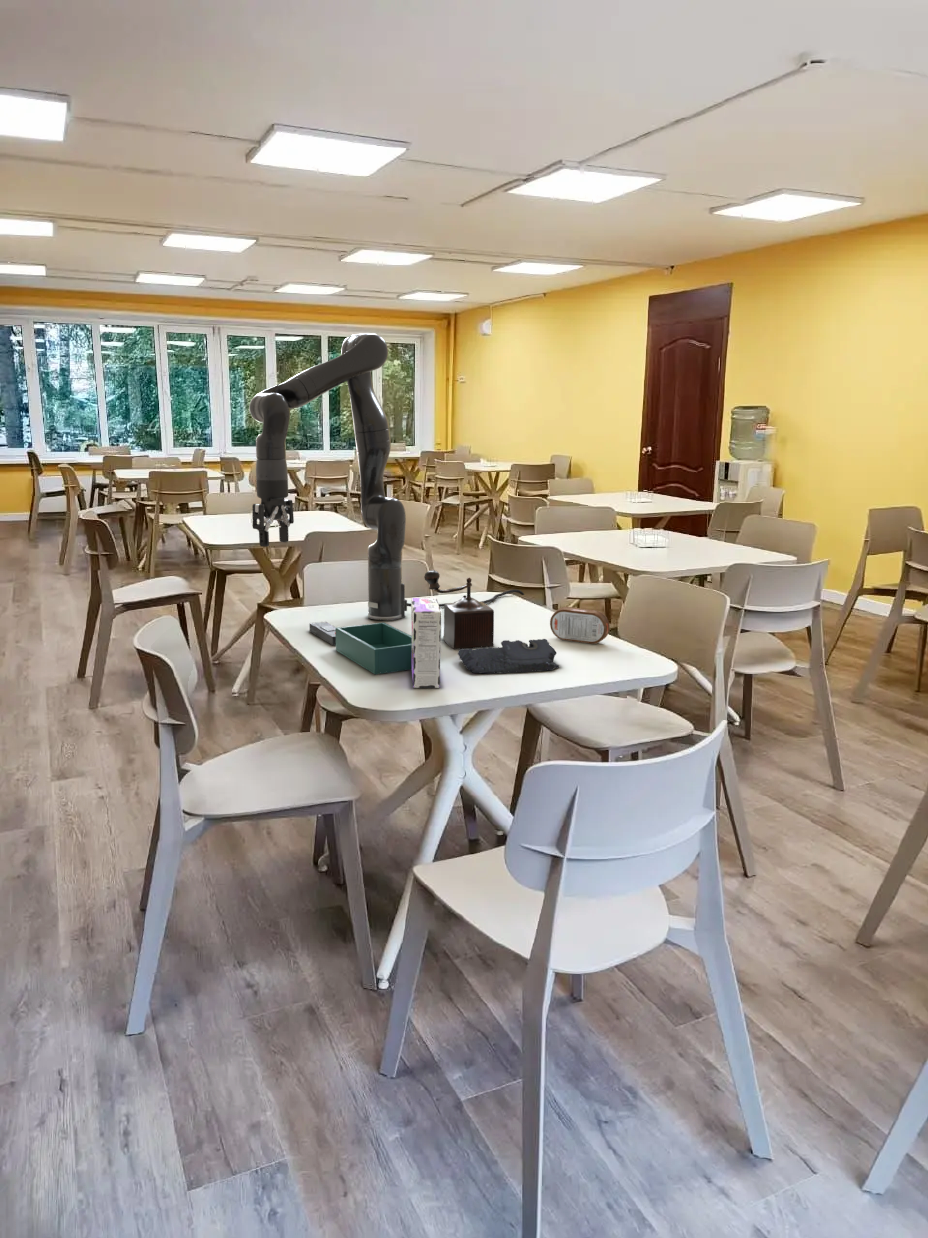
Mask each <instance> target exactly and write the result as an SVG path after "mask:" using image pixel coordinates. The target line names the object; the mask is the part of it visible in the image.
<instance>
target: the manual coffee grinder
mask: <svg viewBox="0 0 928 1238" xmlns="http://www.w3.org/2000/svg"><path fill="white" fill-rule="evenodd" d="M440 578H441V577H440V573H439V571H437V570H436V569H430V570H427V571H426V572H425V573H424V577H423V579H424V580H425V581H426V582H427V584H428V585H429V586H428V589H429V590H431V591H432V590H433V591H434V592H435V593H437V594H449V593H454V592H458V591H459V592H460V591H463V590H465V589H466V594H465V595H463V596H462V598H461V599H459V600H457V601H454V602H445V603H443V604H444V607H443V636H442V638H443V640H444V642H445V643H446V645H448V647H450V648H451V649H453V650H460V649H480V648H489V647H493V648H494V645H495V644H494V641H495V640H494V637H495V635H494V633H495V630H494V629H495V611H494V609H493V608H492V607H490V606H489V605H487V603H483V602H481V601H479V600H477V599H476V598H474V597H472V596H471V590H472V589H471V587H472V586H473V584H472V578H471V577H467V578H466V583H465V584H464V585H462V586H457V587H452V588H447V589H446V588H445V589H440V587H441V585H440V584H439V579H440Z"/></svg>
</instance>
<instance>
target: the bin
mask: <svg viewBox="0 0 928 1238" xmlns="http://www.w3.org/2000/svg"><path fill="white" fill-rule="evenodd" d="M335 651H336V652H338V653H339V654H341V655H342V656H344V657H346V658H347V659H349V660H351V661H352V662H354V663H355V664H357V665H358V666H360V667H362V668H364V669H365V670H367V671H369V672H370V673H372V674H373V675H381V674H382V675H383V674H389V673H397V672H402V671H403V672H404V671H409V670H410V671H411V662H412V634H408V633H407V632H405V631H402V630H400V629H398V628H396V627H394V626H392V625H390V624H389V623H386V622H384V621H383V622H374V623H365V624H356V625H349V626H337V627H336V645H335Z"/></svg>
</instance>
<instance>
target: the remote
mask: <svg viewBox="0 0 928 1238" xmlns="http://www.w3.org/2000/svg"><path fill="white" fill-rule="evenodd" d="M336 628H337V627H336V626H335V625H333V624H331V623H329V622H327V621H317V622H310V623H309V632H310V633H312V635H314V636H316V637H318V638H319V639H321V640H323V641H325V642H327V644H330V645H331V646H336Z"/></svg>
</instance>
